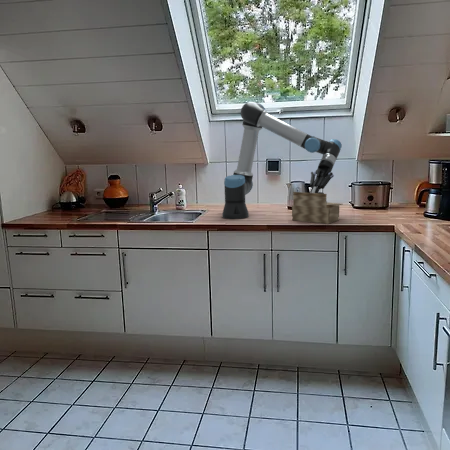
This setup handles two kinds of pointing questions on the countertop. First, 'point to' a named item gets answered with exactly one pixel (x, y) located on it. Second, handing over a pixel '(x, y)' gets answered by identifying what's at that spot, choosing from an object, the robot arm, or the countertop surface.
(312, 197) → the flap
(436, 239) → the countertop surface
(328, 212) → the carton
